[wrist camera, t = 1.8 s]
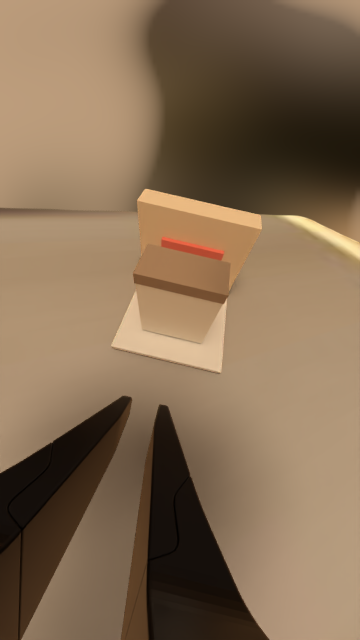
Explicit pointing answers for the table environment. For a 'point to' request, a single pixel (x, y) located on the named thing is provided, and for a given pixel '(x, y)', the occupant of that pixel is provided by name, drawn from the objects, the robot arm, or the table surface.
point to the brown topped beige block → (180, 292)
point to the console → (195, 238)
